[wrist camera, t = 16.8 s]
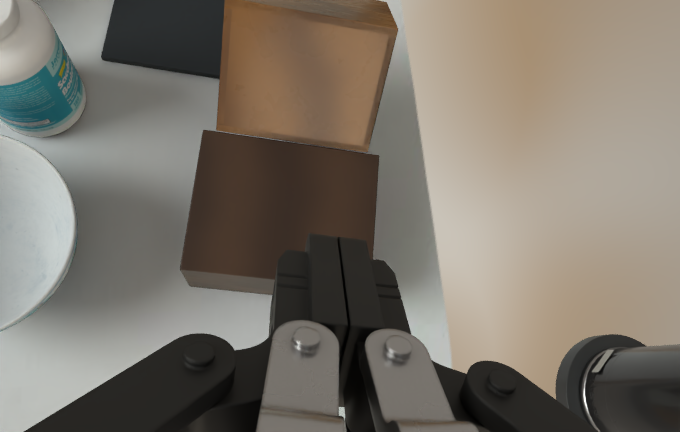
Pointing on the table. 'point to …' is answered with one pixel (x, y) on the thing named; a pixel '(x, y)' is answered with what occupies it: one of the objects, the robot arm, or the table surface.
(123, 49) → the mat
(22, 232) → the chinaware
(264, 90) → the wooden box
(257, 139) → the stand
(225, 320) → the table surface
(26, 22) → the pill bottle
